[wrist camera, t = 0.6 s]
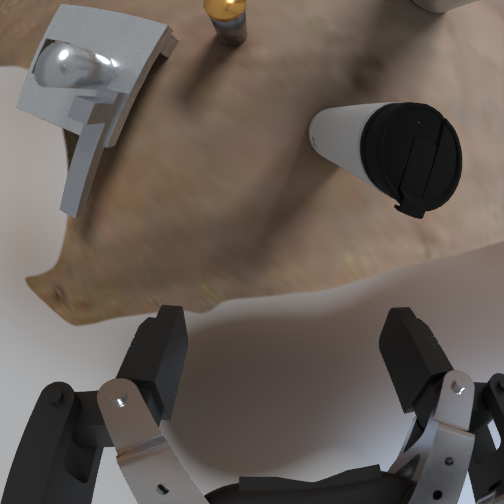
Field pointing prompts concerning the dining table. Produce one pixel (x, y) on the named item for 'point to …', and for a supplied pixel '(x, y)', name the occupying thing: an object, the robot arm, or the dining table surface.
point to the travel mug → (393, 150)
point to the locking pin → (228, 20)
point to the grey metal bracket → (91, 83)
